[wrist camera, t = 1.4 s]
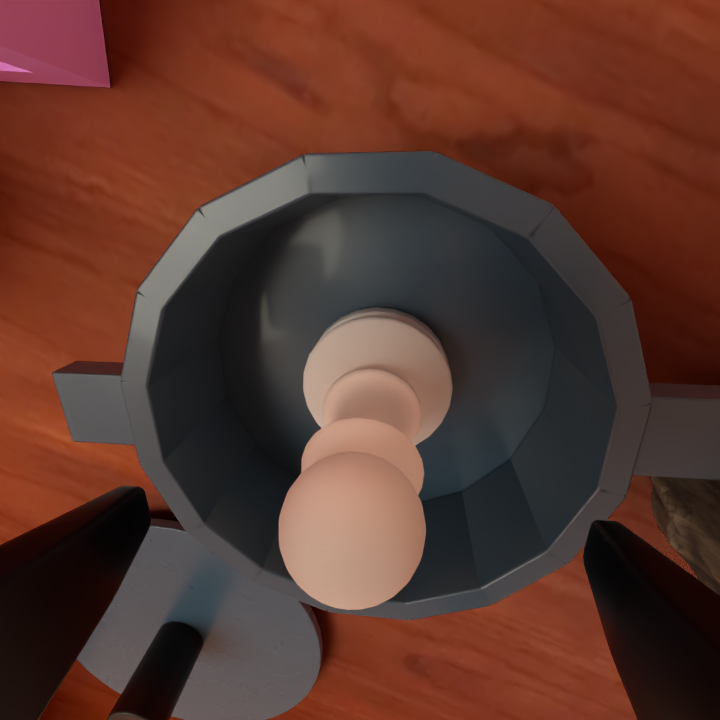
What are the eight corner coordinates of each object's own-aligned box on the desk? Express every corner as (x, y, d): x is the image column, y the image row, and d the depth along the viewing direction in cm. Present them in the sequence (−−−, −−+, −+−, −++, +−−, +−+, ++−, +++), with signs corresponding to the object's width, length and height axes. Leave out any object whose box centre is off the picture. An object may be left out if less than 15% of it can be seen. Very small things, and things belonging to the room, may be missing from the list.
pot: (606, 526, 17) (681, 649, 12) (174, 494, 19) (98, 589, 14) (705, 164, 12) (892, 141, 7) (106, 173, 14) (-44, 160, 9)
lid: (329, 717, 24) (310, 845, 19) (99, 687, 25) (28, 798, 21) (319, 521, 19) (288, 630, 14) (28, 498, 20) (-89, 589, 15)
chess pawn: (449, 302, 14) (512, 458, 5) (447, 431, 16) (492, 698, 7) (305, 307, 14) (162, 453, 6) (319, 431, 16) (223, 675, 8)
